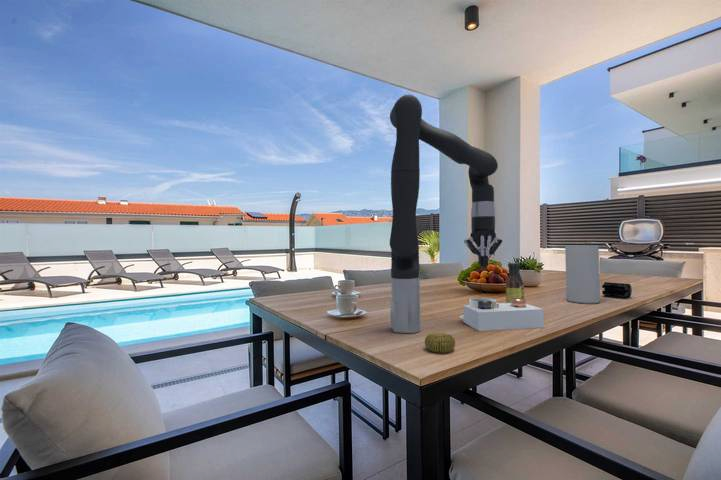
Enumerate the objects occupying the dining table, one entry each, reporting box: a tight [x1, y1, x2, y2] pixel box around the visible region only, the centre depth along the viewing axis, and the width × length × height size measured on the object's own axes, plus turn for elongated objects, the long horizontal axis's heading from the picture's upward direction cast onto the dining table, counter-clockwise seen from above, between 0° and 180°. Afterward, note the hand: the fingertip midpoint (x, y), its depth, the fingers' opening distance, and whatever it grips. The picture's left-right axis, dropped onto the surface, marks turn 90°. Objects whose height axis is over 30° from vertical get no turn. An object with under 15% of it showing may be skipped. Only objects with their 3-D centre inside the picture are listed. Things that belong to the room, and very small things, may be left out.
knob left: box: [478, 301, 493, 309], centre depth 114 cm, size 5×5×8 cm
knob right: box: [511, 297, 527, 308], centre depth 116 cm, size 5×5×8 cm
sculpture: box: [424, 332, 456, 354], centre depth 91 cm, size 8×4×8 cm
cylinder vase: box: [564, 244, 601, 305], centre depth 152 cm, size 12×12×25 cm
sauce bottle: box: [505, 262, 525, 303], centre depth 128 cm, size 7×6×20 cm
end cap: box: [601, 281, 633, 300], centre depth 160 cm, size 10×7×7 cm
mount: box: [462, 302, 545, 332], centre depth 115 cm, size 22×12×6 cm, turn 96°
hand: (483, 267), depth 115 cm, fingers closed
